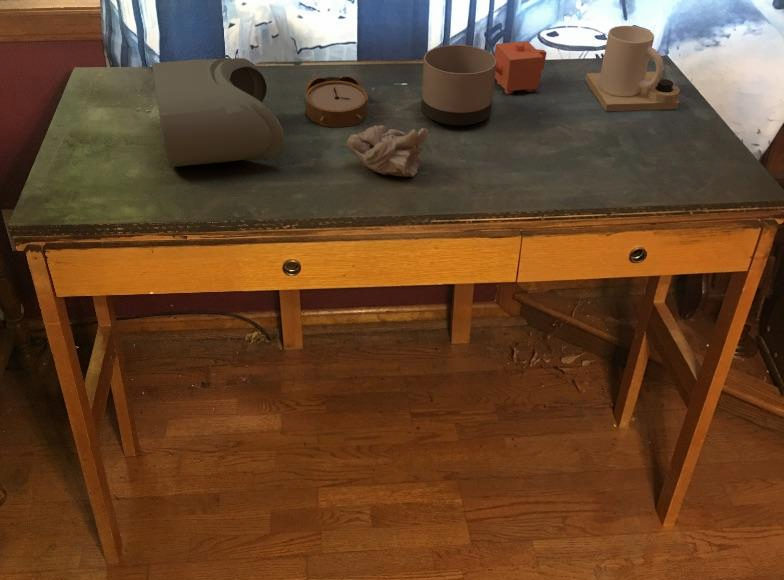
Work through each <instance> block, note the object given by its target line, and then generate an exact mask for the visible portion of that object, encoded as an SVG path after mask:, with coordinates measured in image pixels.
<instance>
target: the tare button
mask: <svg viewBox="0 0 784 580" xmlns="http://www.w3.org/2000/svg"><path fill="white" fill-rule="evenodd" d="M673 85H674V82H673V81H672V80H670V79H662V78H661V80H660V81H659V83H658V84H657V88H656V90H658V91H660V92H665V93H667V92H671V91H672V87H673Z"/></svg>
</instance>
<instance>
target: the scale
mask: <svg viewBox="0 0 784 580" xmlns="http://www.w3.org/2000/svg"><path fill="white" fill-rule="evenodd" d="M600 73H601V72H590V73H589V72H587V73H585V79H584V81H585V82H586V84H587V85H588V87H589V88H590V90H591V91H592V93H593V94H594V96H595V98H596V100H598V102H599V103H600V106H601V107H602V109H603V110H604V112H627V111H628V112H629V111H633V112H634V111H662V110H666V111H667V110H678V109H679V106H680V101H679V100H678V99H679V96H680V92H681V89H680V88H679V87H678V86H677V85H675V84H673V87H672V91H671V92H667V93H665V92H660V91H658V90H656V88H657V85H656V86H654V87H652V88H648V89H643V88H642V90H641V91H640V92H639V93H638V94H636V95H634V96H629V97H620V96H614V95H610V94H608V93H606V92H604V91H603V90H602V89H601V88H600V86H599V79H600ZM655 73H656V71H646V75H645V79H644V80H645V81H650V80H652V79H653V78H654V76H655Z"/></svg>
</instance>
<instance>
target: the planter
mask: <svg viewBox="0 0 784 580" xmlns="http://www.w3.org/2000/svg"><path fill="white" fill-rule="evenodd" d="M494 55H495V54H493V53H492V52H490V51H488V50H486V49H483V48H480V47H478V46H473V45H464V44H448V45H447V44H446V45H440V46H436V47H433V48H431V49H430V50H428V51H426V52H425V54H424V55H423V61H422V62H423V63H422V64H423V65H422V82H421V83H422V84H421V101H420V103H421V104H420V109H421V111H422V113H423V114H424V115H425V116H426V117H427V118H429V119H430V120H432V121H434V122H437V123H440V124H443V125H447V126H453V127H462V126H469V125H475V124H478V123H481V122H483V121H484V120H486V119H488V118H489V117H490V115H491V114H492V107H493V99H494V90H495V82H496V81H495V80H496V78H495V73H496V63H497V60H496V58H495V56H494Z"/></svg>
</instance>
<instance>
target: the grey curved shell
mask: <svg viewBox="0 0 784 580" xmlns="http://www.w3.org/2000/svg"><path fill="white" fill-rule="evenodd" d="M151 66H152V74H153V80H154V88H155V95H156V101H157V107H158V108H157V109H158V114H159V120H160V126H161V132H162V137H163V143H164V144H163V145H164V149H165V157H166V163H167V167H168V168H175V167H187V166H196V165H208V164H217V163H218V164H219V163H229V162H237V161H260V160H261V161H262V160H266V159H270V158H273V157H275V156H277V155H278V154H280V152H281V151H283V149H284V147H285V143H286V137H285V132H284V129H283V127H282V124H281V123H280V121H279V120H278V118H277V117H276V115H275V114H274V113H273V112H272V111H271V109H269V107H268V106H267V105H265V104H264V103H263V101H264V100H265V97H266V94H267V87H268V86H267V83H266V79H265V77H264V74H263V73H262V70H260V69H259V68H258V67H257V66H256V64H255V63H253V62H252V61H251V60H249V59H246V58H243V57H233V58H231V57H224V58H223V57H222V58H203V59H202V58H201V59H199V58H198V59H187V60H174V61H172V60H171V61H161V62H160V61H159V62H152V64H151Z"/></svg>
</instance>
